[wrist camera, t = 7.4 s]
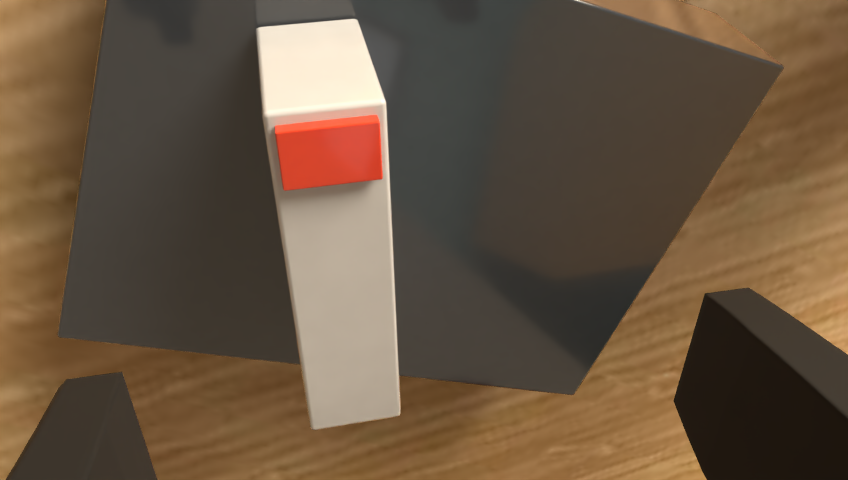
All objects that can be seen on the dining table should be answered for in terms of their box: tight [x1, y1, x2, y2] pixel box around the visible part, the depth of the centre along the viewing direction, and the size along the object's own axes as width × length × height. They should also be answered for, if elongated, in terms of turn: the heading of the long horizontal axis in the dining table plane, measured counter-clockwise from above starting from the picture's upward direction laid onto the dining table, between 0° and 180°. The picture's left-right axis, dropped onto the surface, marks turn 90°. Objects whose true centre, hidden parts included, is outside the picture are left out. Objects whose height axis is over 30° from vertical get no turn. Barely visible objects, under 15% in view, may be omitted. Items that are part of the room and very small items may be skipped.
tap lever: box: [255, 19, 401, 430], centre depth 15 cm, size 7×2×3 cm, turn 1°
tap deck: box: [57, 0, 784, 395], centre depth 18 cm, size 13×10×3 cm
